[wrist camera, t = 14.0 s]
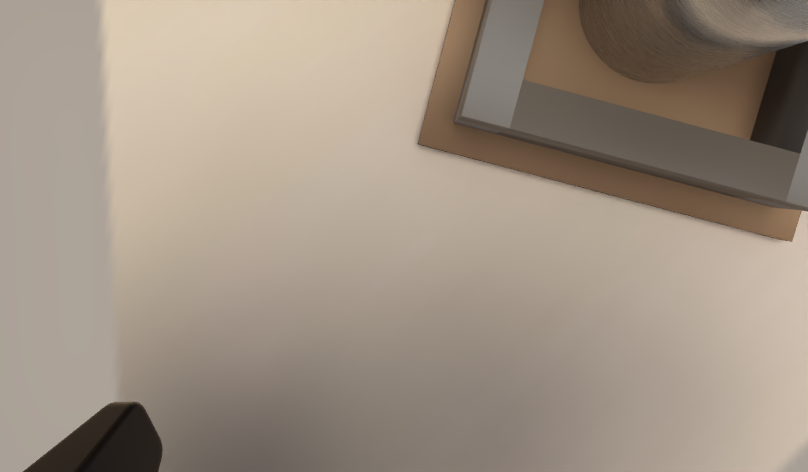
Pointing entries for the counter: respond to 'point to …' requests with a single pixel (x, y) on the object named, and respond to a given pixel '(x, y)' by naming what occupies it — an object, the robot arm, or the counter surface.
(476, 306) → the counter surface
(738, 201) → the socket
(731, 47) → the brushed metal canister
